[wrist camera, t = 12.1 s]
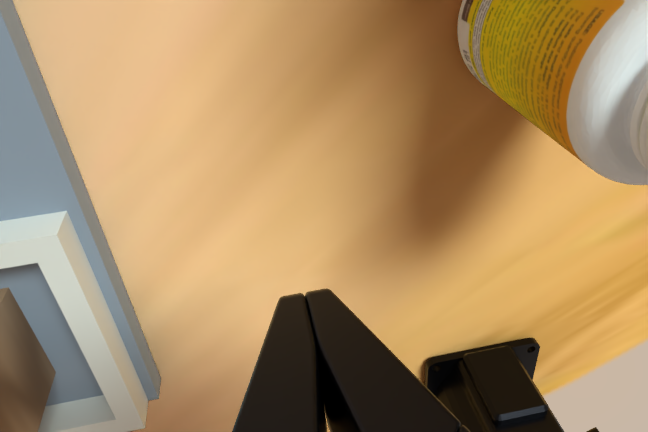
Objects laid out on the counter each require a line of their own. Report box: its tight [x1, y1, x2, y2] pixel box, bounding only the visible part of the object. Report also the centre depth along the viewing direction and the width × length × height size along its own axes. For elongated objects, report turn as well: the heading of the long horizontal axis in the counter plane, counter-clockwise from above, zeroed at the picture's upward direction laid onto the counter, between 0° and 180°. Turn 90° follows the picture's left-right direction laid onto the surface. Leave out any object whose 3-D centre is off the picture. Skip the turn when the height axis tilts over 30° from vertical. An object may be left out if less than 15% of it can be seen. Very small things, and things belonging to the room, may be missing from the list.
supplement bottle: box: [457, 0, 648, 185], centre depth 15 cm, size 6×6×10 cm
